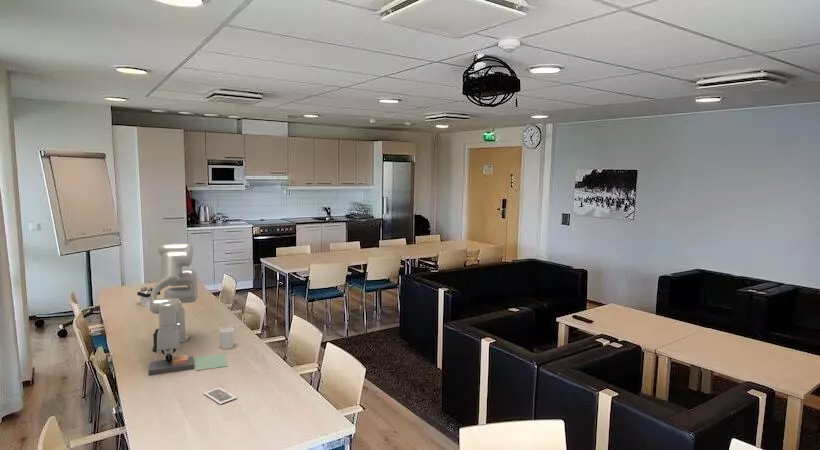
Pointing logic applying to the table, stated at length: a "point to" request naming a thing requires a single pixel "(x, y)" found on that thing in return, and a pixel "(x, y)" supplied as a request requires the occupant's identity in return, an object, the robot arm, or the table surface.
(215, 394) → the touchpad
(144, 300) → the black-topped pedestal
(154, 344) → the mug
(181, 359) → the terracotta tile
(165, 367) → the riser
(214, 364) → the mat
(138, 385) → the table surface
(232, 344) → the white cup
